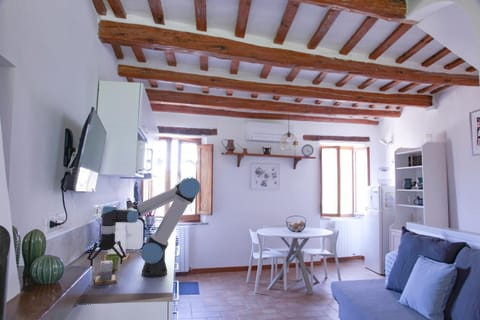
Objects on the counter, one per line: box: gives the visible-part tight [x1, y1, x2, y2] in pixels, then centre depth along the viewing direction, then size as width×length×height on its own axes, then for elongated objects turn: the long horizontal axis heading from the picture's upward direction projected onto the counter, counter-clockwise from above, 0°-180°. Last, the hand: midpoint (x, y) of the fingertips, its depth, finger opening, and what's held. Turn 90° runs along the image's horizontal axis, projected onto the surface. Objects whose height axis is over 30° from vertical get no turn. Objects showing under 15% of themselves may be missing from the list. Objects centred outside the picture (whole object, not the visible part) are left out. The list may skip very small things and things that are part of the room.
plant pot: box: [104, 253, 120, 271], centre depth 205 cm, size 9×9×9 cm
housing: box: [99, 259, 113, 280], centre depth 182 cm, size 6×7×9 cm
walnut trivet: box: [94, 274, 117, 286], centre depth 181 cm, size 11×11×2 cm
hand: (106, 271), depth 182 cm, fingers open, 13 cm apart
